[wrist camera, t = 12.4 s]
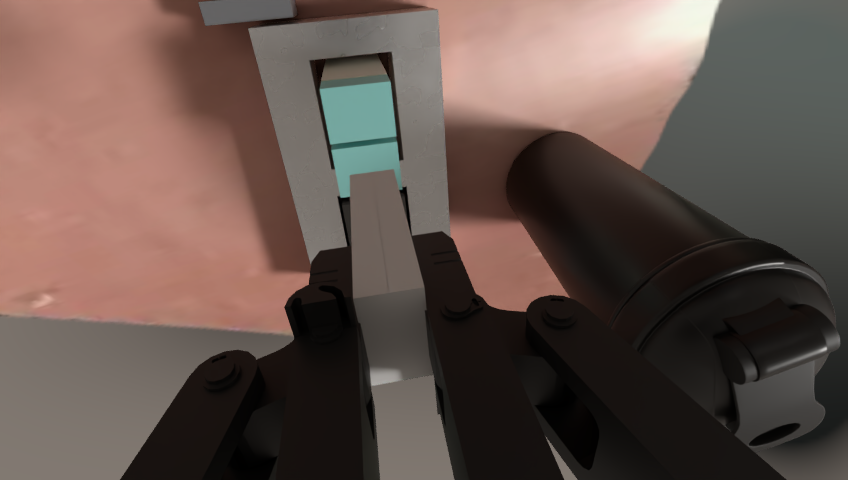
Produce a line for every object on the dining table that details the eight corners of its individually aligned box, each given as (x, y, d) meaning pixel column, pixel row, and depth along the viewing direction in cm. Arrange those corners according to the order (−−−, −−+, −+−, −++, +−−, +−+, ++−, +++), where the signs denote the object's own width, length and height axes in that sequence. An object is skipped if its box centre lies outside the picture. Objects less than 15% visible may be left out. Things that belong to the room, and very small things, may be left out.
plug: (326, 58, 29) (319, 88, 21) (376, 53, 30) (390, 80, 21) (341, 143, 32) (340, 198, 24) (386, 137, 33) (402, 190, 24)
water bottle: (512, 246, 40) (670, 500, 21) (482, 151, 34) (661, 379, 15) (615, 204, 39) (876, 427, 20) (601, 101, 34) (944, 271, 15)
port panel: (259, 23, 28) (244, 30, 23) (426, 6, 29) (441, 10, 24) (322, 273, 38) (319, 309, 34) (443, 254, 39) (455, 287, 35)
